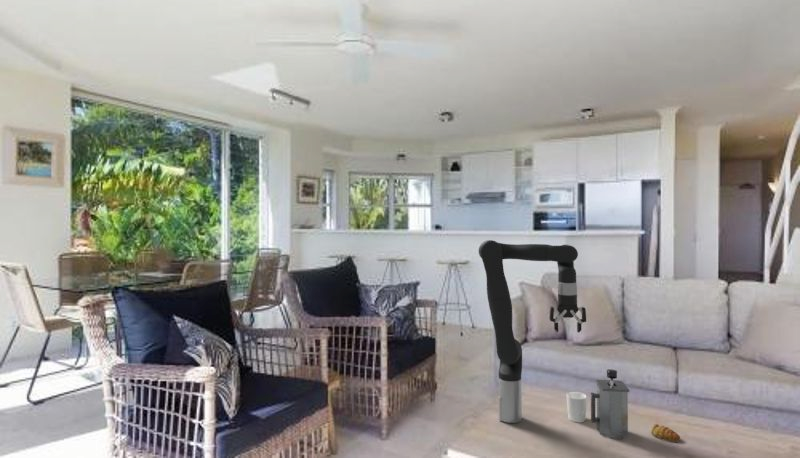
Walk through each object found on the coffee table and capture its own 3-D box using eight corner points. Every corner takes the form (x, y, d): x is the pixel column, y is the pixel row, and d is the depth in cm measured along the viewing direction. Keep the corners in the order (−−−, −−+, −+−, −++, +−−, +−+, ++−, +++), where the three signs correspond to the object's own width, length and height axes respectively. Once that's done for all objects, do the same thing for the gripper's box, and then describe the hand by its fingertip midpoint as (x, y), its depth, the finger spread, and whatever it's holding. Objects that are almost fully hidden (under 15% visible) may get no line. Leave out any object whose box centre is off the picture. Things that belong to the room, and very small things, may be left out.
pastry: (683, 439, 176) (683, 429, 175) (675, 445, 171) (675, 435, 171) (657, 430, 183) (657, 421, 183) (649, 436, 179) (649, 426, 179)
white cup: (583, 415, 198) (583, 391, 198) (589, 423, 190) (589, 399, 190) (564, 414, 199) (564, 391, 198) (569, 423, 191) (569, 398, 191)
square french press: (594, 437, 178) (594, 388, 178) (588, 425, 188) (588, 379, 187) (630, 439, 176) (630, 389, 175) (622, 427, 186) (621, 380, 185)
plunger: (603, 413, 178) (603, 373, 178) (598, 405, 186) (598, 367, 186) (626, 414, 177) (626, 374, 176) (620, 406, 185) (619, 367, 184)
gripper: (550, 294, 192) (551, 333, 192) (587, 294, 190) (587, 334, 190) (548, 291, 199) (548, 329, 200) (583, 291, 197) (583, 330, 197)
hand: (567, 331), depth 195 cm, fingers open, 8 cm apart
